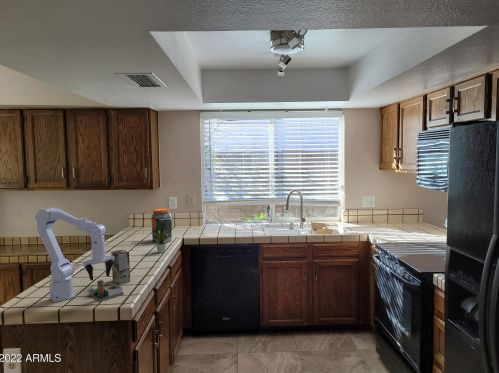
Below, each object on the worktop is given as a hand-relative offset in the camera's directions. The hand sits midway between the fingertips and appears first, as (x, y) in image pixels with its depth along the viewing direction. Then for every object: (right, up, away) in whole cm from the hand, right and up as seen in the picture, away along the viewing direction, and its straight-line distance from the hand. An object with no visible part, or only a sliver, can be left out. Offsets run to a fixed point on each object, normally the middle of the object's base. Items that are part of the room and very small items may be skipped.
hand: (99, 278), depth 174 cm
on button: (-4, -8, +6) cm, 10 cm away
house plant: (+9, -3, +84) cm, 85 cm away
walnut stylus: (+1, -9, 0) cm, 9 cm away
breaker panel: (+1, -9, +6) cm, 11 cm away
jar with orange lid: (+1, -1, +120) cm, 120 cm away
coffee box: (+1, -8, +25) cm, 27 cm away
